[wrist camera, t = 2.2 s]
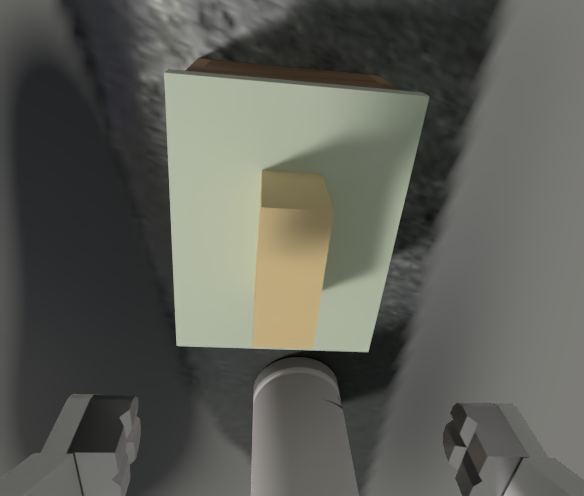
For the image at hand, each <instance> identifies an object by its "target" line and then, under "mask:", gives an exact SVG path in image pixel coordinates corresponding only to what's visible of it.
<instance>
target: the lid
mask: <svg viewBox="0 0 584 496" xmlns="http://www.w3.org/2000/svg"><path fill="white" fill-rule="evenodd" d="M164 79H165V101H166V123H167V145H168V167H169V189H170V211H171V233H172V254H173V276H174V298H175V320H176V342H177V346H194V347H225V348H255V349H286V350H316V351H347V352H369V348H370V344H371V340H372V335H373V331H374V327H375V323H376V319H377V315H378V310H379V306H380V302H381V298H382V294H383V289H384V285H385V281H386V277H387V273H388V269H389V264H390V260H391V256H392V252H393V248H394V244H395V239H396V235H397V231H398V227H399V223H400V218H401V214H402V210H403V206H404V202H405V198H406V193H407V189H408V185H409V181H410V177H411V173H412V168H413V164H414V160H415V156H416V152H417V147H418V143H419V139H420V135H421V131H422V127H423V122H424V118H425V114H426V110H427V106H428V102H429V97H430V96H428V95H426V94H425V93H423V92H413V91H402V90H391V89H380V88H369V87H358V86H347V85H336V84H325V83H314V82H303V81H292V80H281V79H270V78H259V77H248V76H237V75H226V74H215V73H204V72H193V71H182V70H171V69H168V70H167V71H166V72H164Z"/></svg>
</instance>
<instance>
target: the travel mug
mask: <svg viewBox="0 0 584 496" xmlns="http://www.w3.org/2000/svg"><path fill="white" fill-rule="evenodd" d="M251 496H359V494H358V489H357V484H356V478H355V473H354V468H353V463H352V457H351V452H350V447H349V441H348V436H347V431H346V426H345V420H344V415H343V410H342V404H341V399H340V394H339V389H338V383H337V379H336V377H335V374H334V373H333V372H332V370H331V369H330V368H329V367H327V366H326V365H325V364H323V363H321V362H319V361H317V360H314V359H311V358H305V357H291V358H285V359H282V360H279V361H276V362H274V363H272V364H270V365H269V366H267V367H266V368H265V369H264V370H263V371H262V372H261V373H260V374H259V375H258V377H257V379H256V380H255V384H254V397H253V435H252V473H251Z"/></svg>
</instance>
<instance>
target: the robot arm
mask: <svg viewBox="0 0 584 496" xmlns="http://www.w3.org/2000/svg"><path fill="white" fill-rule="evenodd" d="M137 410H138V399H137V397H135V396H114V395H86V394H72V396H70V397H69V398H68V399H67V401H66V403H65V405H64V408H63V409H62V411H61V413H60V415H59V418H58V419H57V421H56V423H55V425H54V428H53V429H52V432H51V433H50V435H49V438H48V440H47V441H46V444H45V445H44V447H43V449H42V451H41V453H34V454H32V455H31V456H30V457H29V458H27V459H26V460H25V461H23V462H22V463H21V464H19V465H18V466H17V467H15V468H14V469H13V470H12V471H10V472H9V473H8V474H6V475H5V476H4V477H2V478H1V479H0V496H125V494H126V491H127V487H128V484H129V480H130V469H129V465H130V464H131V463H132V462H133V461H134V460H135V459H136V455H137V451H138V447H139V440H140V428H141V426H140V419H139V418H138V417H137V416H136V414H137ZM450 413H451V415H452V418H453V420H451V421H450V422H449V423H447V424H446V426H445V429H444V432H443V446H444V451H445V454H446V457H447V460H448V462H449V463H450V464H451V465H452V466H453V467H455V468H456V469H457V474H456V477H455V479H456V482H457V484H458V487H459V489H460V492H461V494H462V496H584V479H582V478H581V477H579V476H578V475H577V474H575V473H574V472H573V471H571V470H570V469H568V468H567V467H566V466H565V465H563V464H562V463H561V462H559V461H558V460H556V459H555V458H549V457H548V456H547V454H546V452H545V451H544V449H543V448H542V446H541V445H540V443H539V441H538V440H537V438H536V437H535V435H534V434H533V432H532V430H531V429H530V427H529V426H528V424H527V423H526V421H525V420H524V418H523V416H522V415H521V413H520V412H519V410H518V408H517V407H516V406H514V405H513V404H497V403H496V404H495V403H494V404H491V403H456V404H455V405H454V406H453V408H452V410H451V412H450Z"/></svg>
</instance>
